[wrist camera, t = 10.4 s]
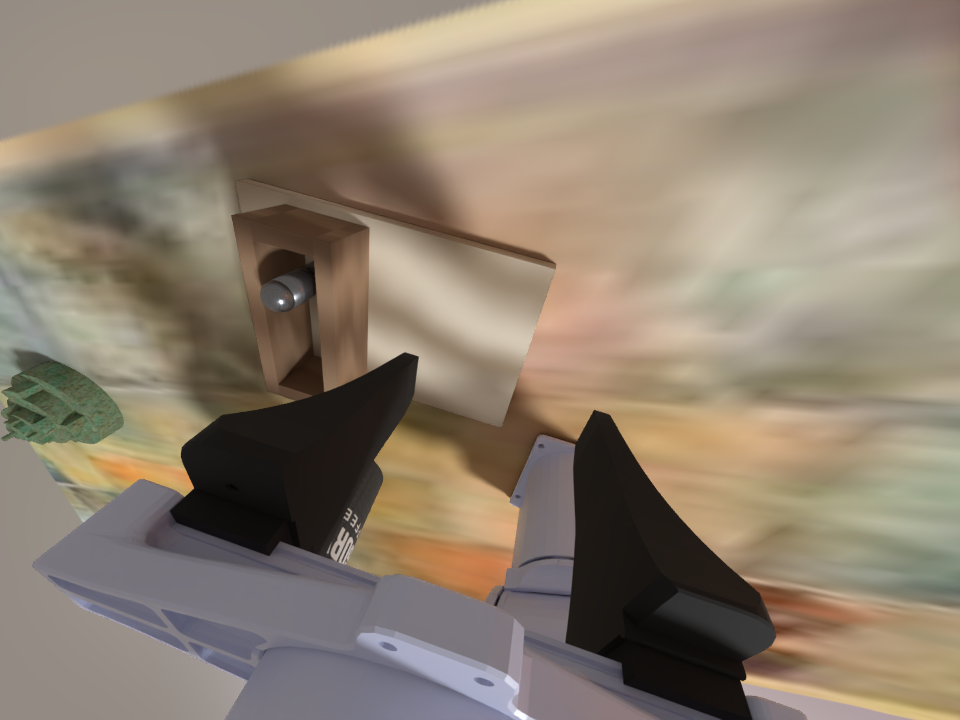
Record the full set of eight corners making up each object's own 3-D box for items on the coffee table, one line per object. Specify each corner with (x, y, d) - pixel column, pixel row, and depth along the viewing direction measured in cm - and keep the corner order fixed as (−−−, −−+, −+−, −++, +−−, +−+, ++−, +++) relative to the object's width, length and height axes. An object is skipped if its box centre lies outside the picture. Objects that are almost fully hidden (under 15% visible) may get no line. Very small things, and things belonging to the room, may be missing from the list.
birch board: (503, 419, 27) (501, 428, 26) (276, 348, 29) (267, 354, 28) (556, 264, 20) (555, 269, 19) (248, 178, 21) (235, 180, 21)
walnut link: (367, 381, 27) (338, 414, 24) (303, 361, 27) (267, 391, 24) (369, 227, 20) (330, 243, 17) (285, 204, 21) (231, 215, 17)
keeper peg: (342, 286, 23) (285, 322, 18) (318, 278, 23) (254, 312, 18) (342, 260, 22) (281, 291, 17) (316, 252, 22) (248, 281, 17)
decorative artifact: (88, 365, 37) (23, 357, 39) (-3, 406, 31) (-73, 395, 33) (140, 433, 42) (81, 423, 44) (72, 479, 36) (7, 466, 38)
